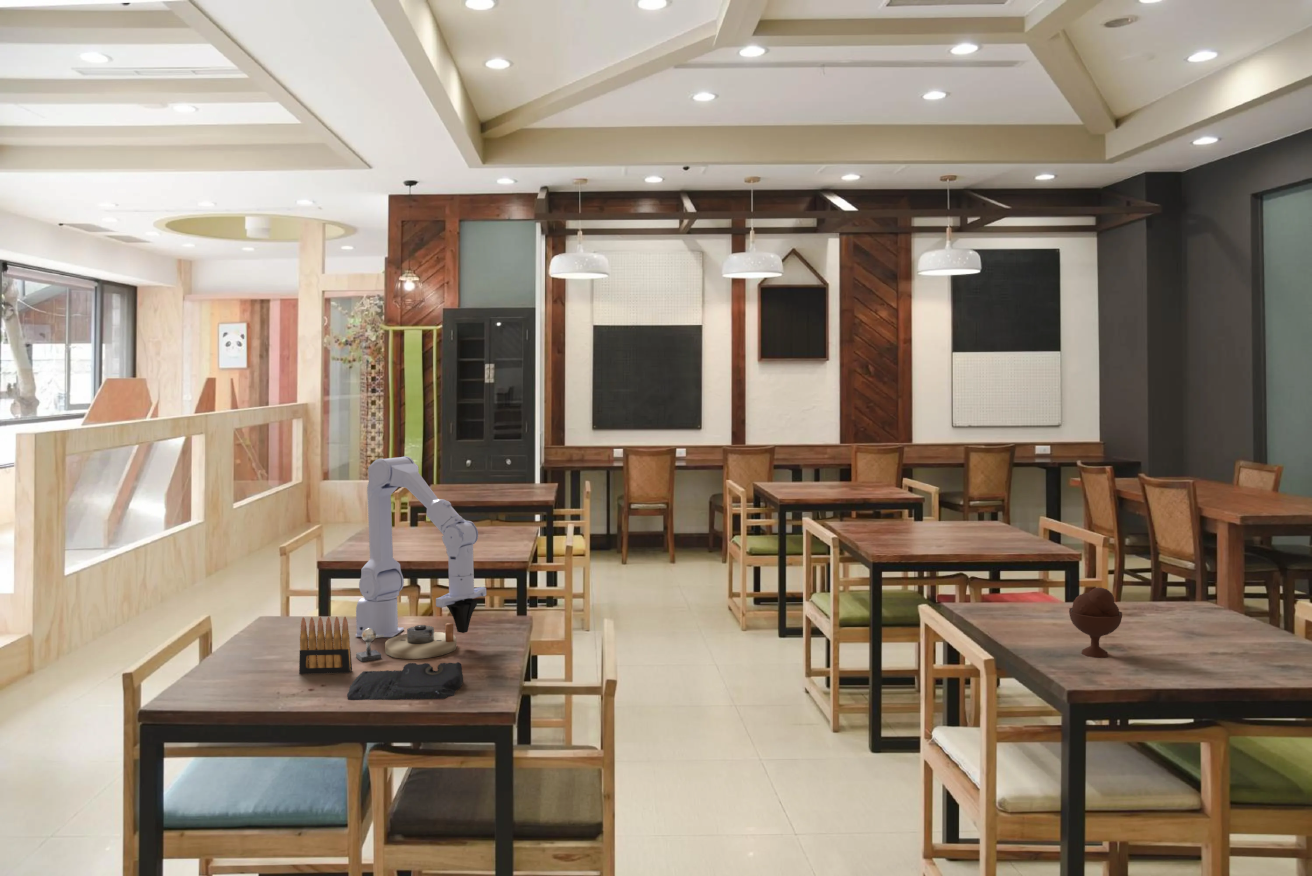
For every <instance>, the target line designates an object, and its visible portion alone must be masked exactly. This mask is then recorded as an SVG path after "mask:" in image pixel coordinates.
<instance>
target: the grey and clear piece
mask: <svg viewBox="0 0 1312 876" xmlns="http://www.w3.org/2000/svg"><path fill="white" fill-rule="evenodd" d="M361 638H362V640H363V641H364V642H365V646H366V647H365V648H366V650H365V651H360V652H355V658H357V660H358V661H360V662H361V663H362V662H370V661H376V660H381V659H382V653H381V652H379V651H378V650H376V649H371V647H372V646H371V643H372V642H373V641H374V640H375V639H377V638H385V637H384V635H383V634H380V635H376V632H375V631H374V630H373V629H371V628H367V629H365V630H364V631H363V633H362V637H361Z"/></svg>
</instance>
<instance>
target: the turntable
mask: <svg viewBox="0 0 1312 876" xmlns="http://www.w3.org/2000/svg"><path fill="white" fill-rule="evenodd" d="M444 624H445V625H444V626H445V627H444V630H445V632H441V631H434V641H433V642H430V643H426V644H410V643H408V642H407V633H404V634H400V635H397V636H396V635H395V636H394V637H389V638H388V639H387V640H386V641H385V643H384V648H385V649H384V651H385V655H387V656H389V657H391V658H396V659H401V660H402V659H404V660H405V659H406V660H415V659H416V660H418V659H419V660H420V659H430V658H434V657H441V656H444V655H447V654H450V653H452V652H454V651H456V649H457V637H456V635H454V623H453V622H447V623H444Z"/></svg>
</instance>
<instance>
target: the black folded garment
mask: <svg viewBox="0 0 1312 876" xmlns="http://www.w3.org/2000/svg"><path fill="white" fill-rule="evenodd" d="M462 667H463V666H462V663H461V662H458V661H457V662H441V663H439V664H438V665H437V670H434V669H433V666H432V665H431V664H430V663H428V662H424V663H419V664H417V663H416V662H408V663H405V664H404V666H403V667H402V669H401V670H396V669H395V670H369V671H368V670H364V671H362V672H361V673H360V674H359V675H357V677H356V678H355V679H354V680H353V681H352V683H351V685H350V686H349V689H348V691H347V695H346V697H347V700H348V701H349V700H350V701H367V700H368V701H382V700H383V701H392V700H394V701H396V700H397V701H398V700H403V701H404V700H437V699H439V700H440V699H441V700H443V699H446V698H449V697H454V696H455V694H456V692H457V691H458V690H459V689H461V687H462V685H463V681H464V674H463V668H462Z"/></svg>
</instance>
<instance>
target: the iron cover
mask: <svg viewBox="0 0 1312 876" xmlns="http://www.w3.org/2000/svg"><path fill="white" fill-rule="evenodd" d="M434 632H435V628H434V626H431V625H425V624H417V625H414V626H411V627H409V628H407V629H406V634H407V642H408V643H410V644H426V643H430V642H433V641H434Z"/></svg>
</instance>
